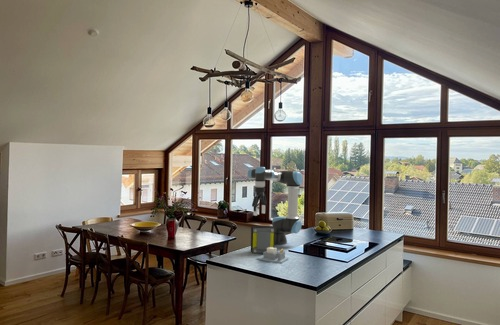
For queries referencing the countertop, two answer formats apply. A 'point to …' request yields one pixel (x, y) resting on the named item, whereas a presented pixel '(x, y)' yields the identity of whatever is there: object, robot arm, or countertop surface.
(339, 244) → the countertop surface
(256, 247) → the electrical component
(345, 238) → the countertop surface
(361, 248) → the countertop surface
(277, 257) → the header board
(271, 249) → the plug
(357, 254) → the countertop surface
